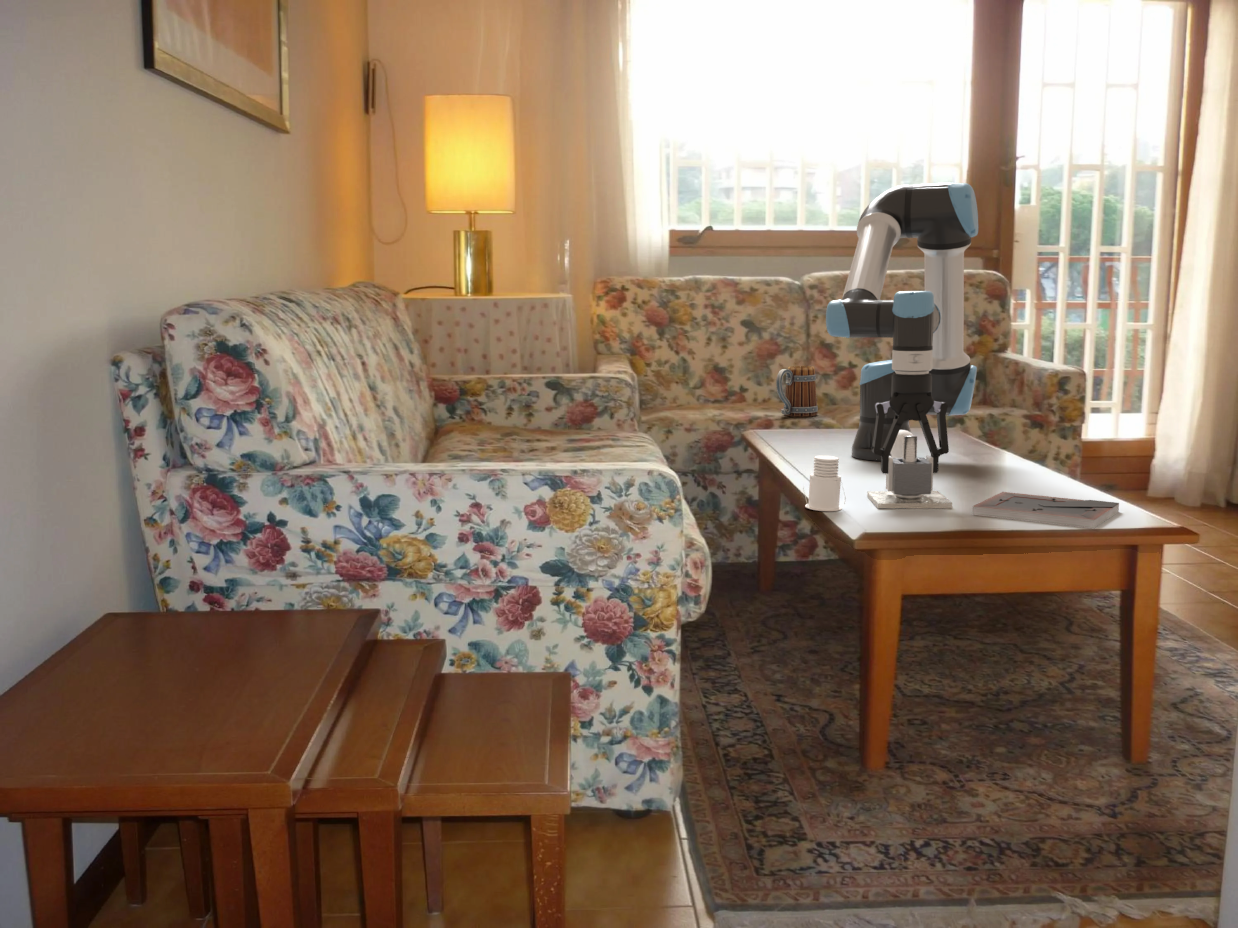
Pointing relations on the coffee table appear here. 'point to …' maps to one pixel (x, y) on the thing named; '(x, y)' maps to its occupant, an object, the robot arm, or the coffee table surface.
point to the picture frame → (1047, 509)
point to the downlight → (824, 485)
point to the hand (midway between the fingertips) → (909, 489)
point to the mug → (798, 391)
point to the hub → (911, 477)
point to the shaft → (914, 500)
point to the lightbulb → (899, 444)
